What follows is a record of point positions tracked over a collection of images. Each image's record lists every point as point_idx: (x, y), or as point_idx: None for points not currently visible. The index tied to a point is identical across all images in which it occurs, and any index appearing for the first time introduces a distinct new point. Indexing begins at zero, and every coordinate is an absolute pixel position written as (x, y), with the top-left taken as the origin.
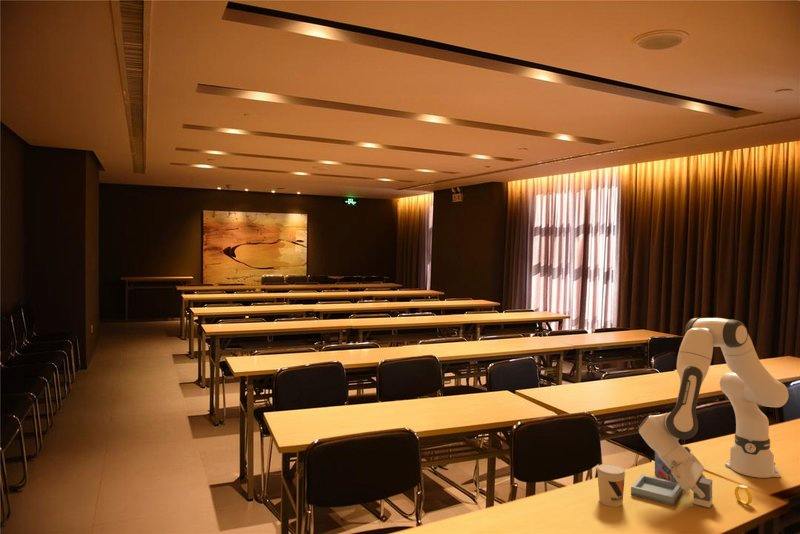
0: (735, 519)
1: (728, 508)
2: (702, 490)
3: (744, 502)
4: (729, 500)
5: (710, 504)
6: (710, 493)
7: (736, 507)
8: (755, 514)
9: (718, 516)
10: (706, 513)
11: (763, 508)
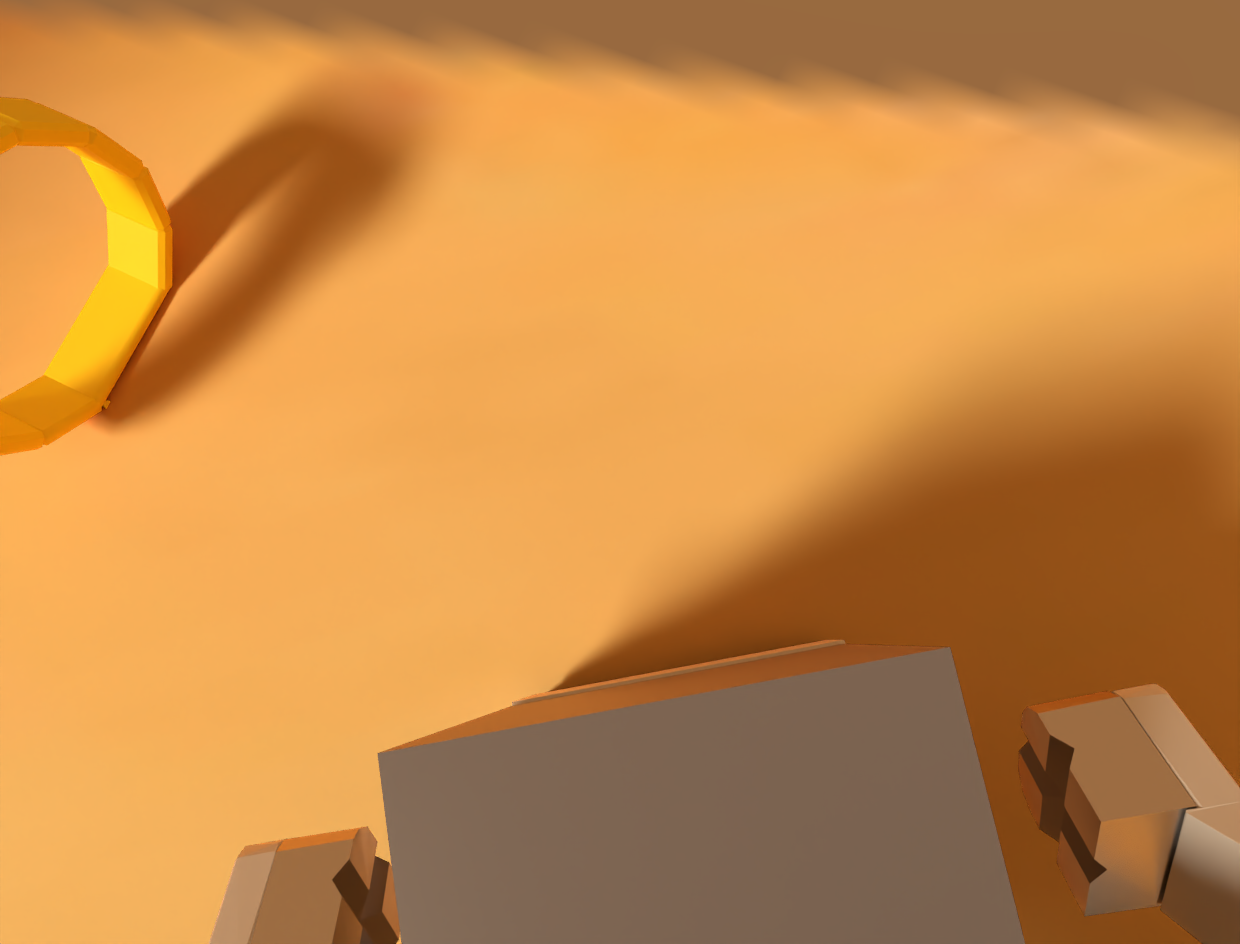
0: (886, 189)
1: (535, 416)
2: (1097, 807)
3: (116, 308)
4: (179, 522)
5: (736, 657)
6: (731, 671)
7: (392, 341)
8: (443, 63)
9: (1011, 414)
10: (1072, 607)
11: (127, 63)
